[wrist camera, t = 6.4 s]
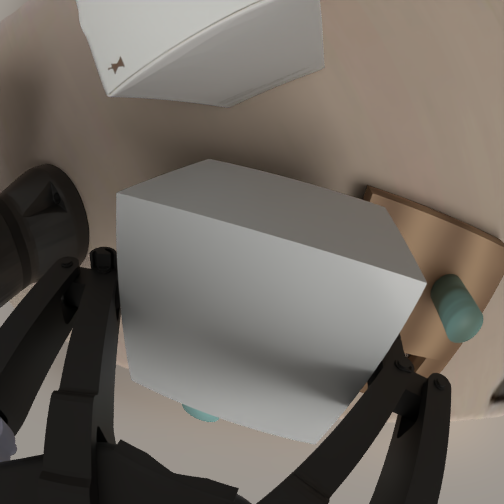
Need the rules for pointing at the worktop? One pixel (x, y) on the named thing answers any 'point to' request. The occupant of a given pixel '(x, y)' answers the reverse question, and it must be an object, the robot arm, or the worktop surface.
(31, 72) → the worktop surface
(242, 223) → the grey square block
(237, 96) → the supplement box
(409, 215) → the board
